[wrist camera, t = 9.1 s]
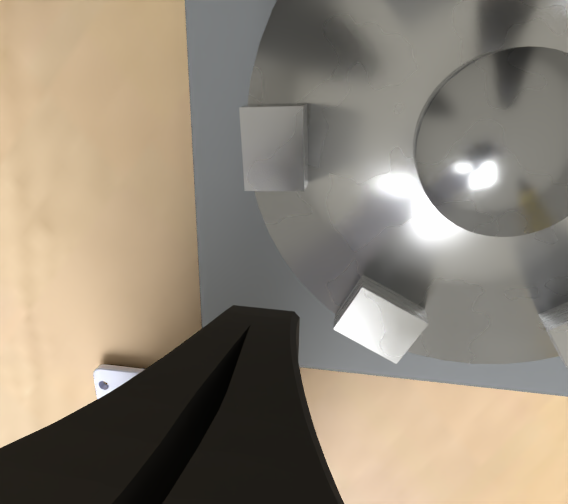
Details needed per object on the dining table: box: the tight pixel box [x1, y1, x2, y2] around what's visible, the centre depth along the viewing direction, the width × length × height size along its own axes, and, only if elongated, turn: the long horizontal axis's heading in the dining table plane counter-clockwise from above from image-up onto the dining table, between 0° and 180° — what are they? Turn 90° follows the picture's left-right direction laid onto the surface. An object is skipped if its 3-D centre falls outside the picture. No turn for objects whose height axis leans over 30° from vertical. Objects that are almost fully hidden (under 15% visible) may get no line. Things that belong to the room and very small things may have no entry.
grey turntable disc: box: [239, 0, 568, 369], centre depth 12 cm, size 15×15×7 cm
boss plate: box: [185, 0, 568, 397], centre depth 16 cm, size 20×20×2 cm
